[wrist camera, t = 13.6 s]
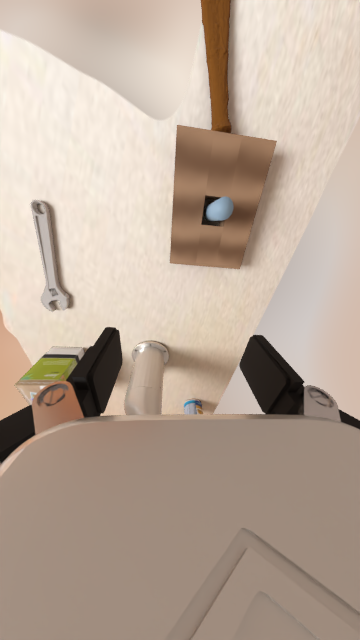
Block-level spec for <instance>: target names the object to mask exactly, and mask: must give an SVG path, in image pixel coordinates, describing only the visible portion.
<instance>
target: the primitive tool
mask: <svg viewBox="0 0 360 640" xmlns="http://www.w3.org/2000/svg"><path fill="white" fill-rule="evenodd" d="M201 7H202V23H203V25H204V33H205V44H206V56H207V65H208V73H209V86H210V98H211V111H212V129H211V130H212V131H218V132H224V133H231V124H230V122H229V119H228V109H227V105H228V100H229V97H228V83H227V70H228V67H227V66H228V41H229V18H230V0H201Z"/></svg>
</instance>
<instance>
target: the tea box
mask: <svg viewBox="0 0 360 640" xmlns="http://www.w3.org/2000/svg"><path fill="white" fill-rule="evenodd" d="M84 354H85V353H84V350H83V348H80V347H52V348H51V349H50V350H49V351H48V352H47V353H46V354H45V355H44V356H43V357H42V358H41V359H40V360H39V361H38V362H37V363H36V364H35V365H34V366H33V367H32V368H31V369H30V370H29V371H28V372H27V373H26V374H25V375H24V376H23V377H22V378H21V379H20V380H19V381H18V382H17V383H16V384H15V385H14V386H15V387H16V388H17V390H18V391H19V392H20V393H21V395H22V396H23V397H24V399H25V400H26V401H27V403H28V404H29V405H31V404H32V400H33V398H34V396H35V395H36V394H37V393H38V392H39V391H40V390H41V389H42V388H44V387H45V386H47V385H49V384H51V383H54V382H58V381H66V379H67V378H68V376H69V375H70V374H71V372H72V371H73V369H74V368H75V367H76V365H77V364H78V362H79V361H80V360H81V358H82V357H83V355H84Z"/></svg>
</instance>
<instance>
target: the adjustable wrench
mask: <svg viewBox="0 0 360 640" xmlns="http://www.w3.org/2000/svg"><path fill="white" fill-rule="evenodd" d="M37 204H42V205H43V207H44V209H45V213H44V214H42V213H40V212H39V211H38V209H37ZM31 209H32V214H33V219H34V224H35V229H36V234H37V239H38V244H39V249H40V254H41V259H42V263H43V268H44V273H45V278H46V286H45V290H44V292H43V294H42V296H41V302H42V304H43V305H44V307H45V308H47V309H48V310H50V311H54V310H56V309H55V307H54V305H53V304H52V301H53V300H58V301H60V302H59V305H60V306H61V308H62V309H63V310H65V309H67V308H68V306H69V303H70V301H69V297H70V296H69V295H68V293H65V292H64V290H63V289H62V288H61V286H60V284H59V281H58V273H57V265H56V257H55V250H54V242H53V234H52V226H51V219H50V211H49V208H48V206H47V205H46V204H45V203H44V202H42V201H38V200H33V201H32V202H31ZM52 288H54V289H52Z"/></svg>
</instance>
